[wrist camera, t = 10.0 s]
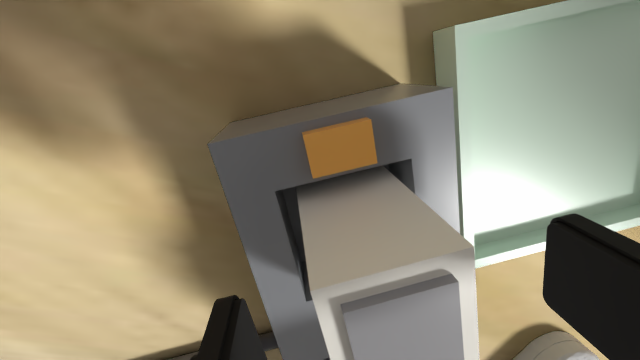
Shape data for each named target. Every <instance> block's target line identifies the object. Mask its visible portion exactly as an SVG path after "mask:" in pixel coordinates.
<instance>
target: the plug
mask: <svg viewBox="0 0 640 360" xmlns="http://www.w3.org/2000/svg"><path fill="white" fill-rule="evenodd" d="M296 192H297V199H298V206H299V213H300V221H301V228H302V235H303V243H304V250H305V257H306V264H307V272H308V279H309V286H310V292H311V296H312V299H313V302H314V306H315V309H316V313H317V316H318V319H319V323H320V326H321V329H322V333H323V336H324V340H325V343H326V346H327V350H328V353H329V357H330V360H480V359H479V338H478V317H477V296H476V275H475V255H474V246H473V245H472V244H471V243H470V242H468V241H467V240H466V239H465V238H464V237H463V236H462V235H461V234H459V233H458V232H457V231H456V230H455V229H454V228H453V227H451V226H450V225H449V224H448V223H447V222H446V221H445V220H444V219H442V218H441V217H440V216H439V215H438V214H437V213H436V212H435V211H433V210H432V209H431V208H430V207H429V206H428V205H427V204H426V203H424V202H423V201H422V200H421V199H420V198H419V197H418V196H416V195H415V194H414V193H413V192H412V191H411V190H410V189H409V188H407V187H406V186H405V185H404V184H403V183H402V182H401V181H400V180H398V179H397V178H396V177H395V176H394V175H393V174H392V173H391V172H389V171H388V170H387V169H386V168H385V167H384V166H383V165H382V166H378V167H374V168H369V169H365V170H361V171H357V172H353V173H349V174H345V175H341V176H336V177H332V178H328V179H324V180H320V181H316V182H312V183H307V184H303V185H299V186H296Z"/></svg>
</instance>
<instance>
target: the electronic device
mask: <svg viewBox="0 0 640 360" xmlns="http://www.w3.org/2000/svg"><path fill="white" fill-rule="evenodd" d="M513 360H600V359H599V358H598V357H597V356H596V355H595V354H594V353H593V352H591V351H590V350H589V349H588V348H587V347H585V346H584V345H583V344H582V343H581V342H580V341H578V340H577V339H576V338H575V337H574V336H572V335H571V334H569V333H566V332H563V331H553V332H550V333H547V334H544V335H542V336H540V337H538V338H536V339H535V340H533V341H532V342H530V343H529V344H528V345H527V346H526V347H525V348H524V349H523V350H522V351H521V352H520V353H519V354H518V355H517V356H516V357H515V358H514V359H513Z"/></svg>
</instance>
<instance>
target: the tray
mask: <svg viewBox="0 0 640 360" xmlns="http://www.w3.org/2000/svg"><path fill="white" fill-rule="evenodd" d="M433 42H434V57H435V72H436V86H444V87H453V100H454V121H455V142H456V162H457V183H458V203H459V224H460V234H461V235H462V236H463V237H464V238H465V239H466V240H467V241H468V242H470V243H471V244H472V245H473V246H474V255H475V268H479V267H483V266H487V265H491V264H494V263H498V262H502V261H506V260H510V259H513V258H517V257H521V256H525V255H529V254H532V253H536V252H540V251H544V250H546V234H547V226H548V225H549V224H550V222H551V220H552V219H554V218H556V217H560V216H564V215H568V214H579V215H581V216H583V217H585V218H588V219H590V220H592V221H594V222H596V223H598V224H600V225H602V226H604V227H606V228H608V229H611V230H613V231H615V232H616V231H620V230H624V229H628V228H632V227H636V226H639V225H640V0H567V1H563V2H558V3H554V4H549V5H545V6H540V7H536V8H531V9H527V10H522V11H518V12H513V13H509V14H504V15H500V16H495V17H491V18H486V19H482V20H477V21H473V22H468V23H464V24H459V25H455V26H451V27H448V28H444V29H441V30H437V31H433Z"/></svg>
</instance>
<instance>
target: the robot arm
mask: <svg viewBox="0 0 640 360" xmlns="http://www.w3.org/2000/svg"><path fill="white" fill-rule="evenodd" d="M543 297H544V300H545V302H546V303H547V305H548V306H549V307H550V308H551V309H553V310H554V311H555V312H556V313H557V314H558V315H559V316H560V317H562V318H563V319H564V320H565V321H566V322H567V323H568V324H569V325H571V326H572V327H573V328H574V329H575V330H576V331H577V332H579V333H580V334H581V335H582V336H583V337H584V338H585V339H586V340H588V341H589V342H590V343H591V344H592V345H593V346H594V347H596V348H597V349H598V350H599V351H600V352H601V353H602V354H603V355H605V356H606V357H607V358H608V359H609V360H640V243H638V242H636V241H634V240H632V239H629V238H627V237H625V236H623V235H621V234H619V233H617V232H615V231H613V230H611V229H608V228H606V227H604V226H602V225H600V224H598V223H596V222H594V221H592V220H590V219H588V218H585V217H583V216H581V215H579V214H568V215H564V216H560V217H556V218H554V219H552V220H551V222H550V224H549V225H548V226H547V234H546V250H545V266H544V281H543ZM190 360H267V357H266V355H265V352H264V349H263V347H262V344H261V341H260V339H259V336H258V333H257V331H256V328H255V325H254V323H253V320H252V317H251V315H250V312H249V309H248V307H247V304H246V301H245V300H244V299H239V298H238V297H237V296H236V295H233V296H229V297H225V298H221V299H217V300H216V301H215V303H214V306H213V309H212V312H211V315H210V318H209V321H208V324H207V327H206V331H205V334H204V337H203V340H202V343H201V346H200V349H199V352H198V354H197V355H193V356H192V357H191V358H190Z"/></svg>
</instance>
